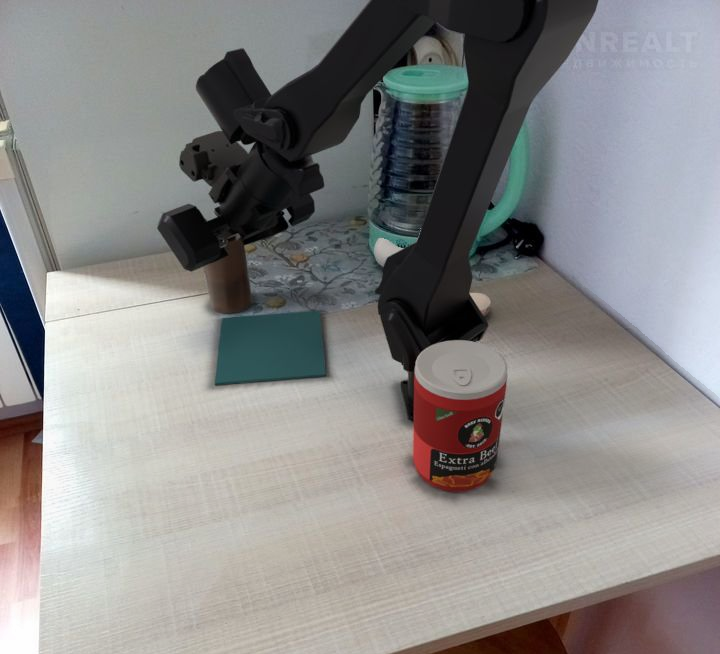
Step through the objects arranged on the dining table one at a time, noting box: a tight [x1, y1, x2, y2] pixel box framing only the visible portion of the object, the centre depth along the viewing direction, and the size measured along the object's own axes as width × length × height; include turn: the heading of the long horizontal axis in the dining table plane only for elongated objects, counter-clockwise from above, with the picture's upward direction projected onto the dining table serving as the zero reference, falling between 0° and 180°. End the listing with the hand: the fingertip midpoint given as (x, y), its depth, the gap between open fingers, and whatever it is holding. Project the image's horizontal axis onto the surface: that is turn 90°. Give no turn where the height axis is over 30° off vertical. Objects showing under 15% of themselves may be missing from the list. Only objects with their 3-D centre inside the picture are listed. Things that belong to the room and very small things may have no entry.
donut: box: [373, 237, 404, 268], centre depth 96 cm, size 10×4×10 cm
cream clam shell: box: [469, 292, 492, 317], centre depth 85 cm, size 4×5×2 cm
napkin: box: [214, 310, 327, 386], centre depth 82 cm, size 14×12×1 cm
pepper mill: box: [203, 229, 253, 315], centre depth 86 cm, size 5×5×11 cm
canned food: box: [412, 340, 508, 493], centre depth 62 cm, size 8×8×11 cm
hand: (216, 251), depth 86 cm, fingers closed on pepper mill, 5 cm apart
